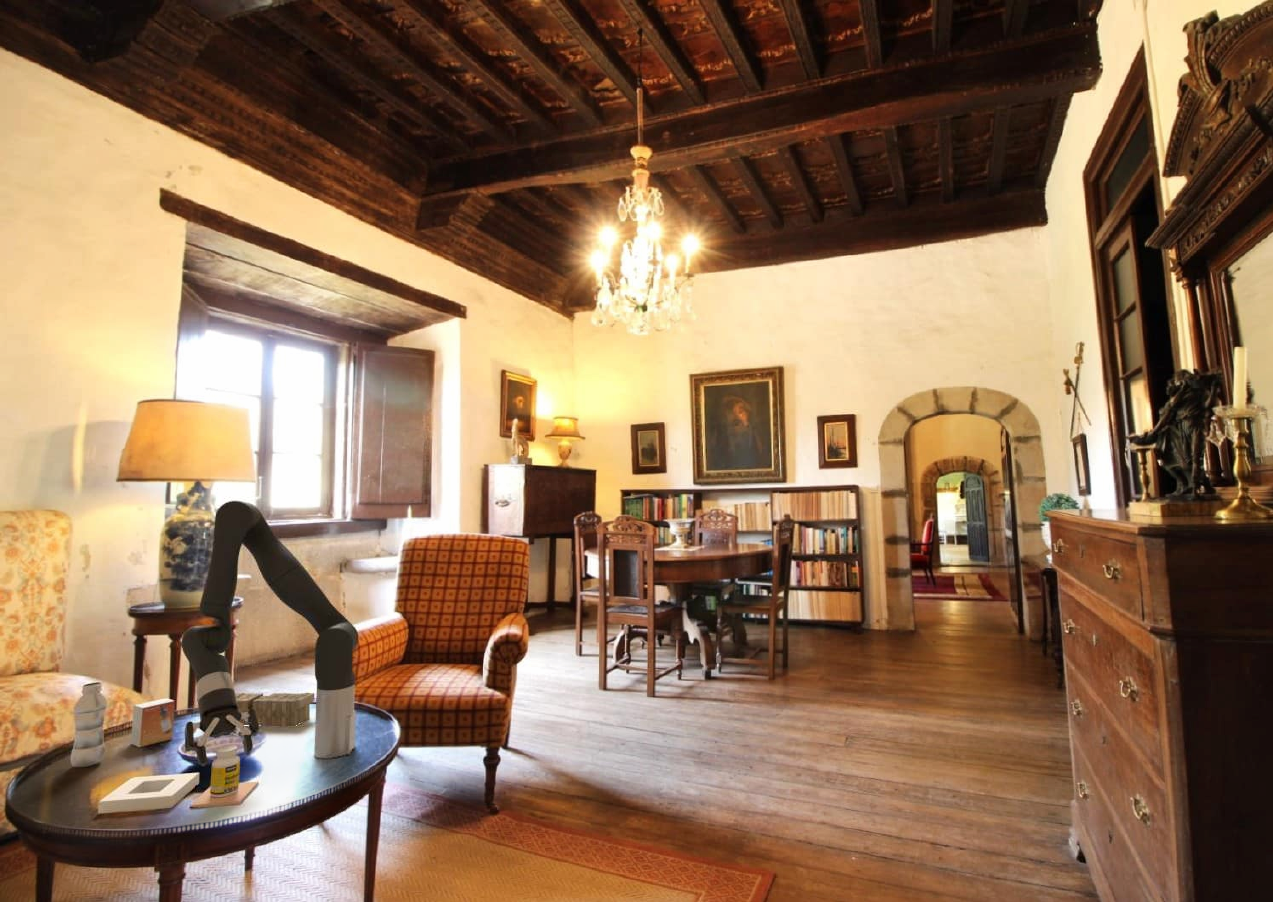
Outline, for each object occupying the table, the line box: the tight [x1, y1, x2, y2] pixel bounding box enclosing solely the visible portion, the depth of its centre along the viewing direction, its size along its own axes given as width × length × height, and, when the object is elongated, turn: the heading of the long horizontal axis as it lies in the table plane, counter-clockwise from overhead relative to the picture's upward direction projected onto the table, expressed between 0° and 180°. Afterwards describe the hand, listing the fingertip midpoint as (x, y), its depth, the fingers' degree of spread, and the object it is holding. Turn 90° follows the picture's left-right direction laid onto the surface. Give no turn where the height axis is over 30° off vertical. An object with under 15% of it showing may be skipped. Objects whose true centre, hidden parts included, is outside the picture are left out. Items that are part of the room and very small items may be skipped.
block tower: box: [235, 692, 315, 727], centre depth 191 cm, size 8×8×29 cm
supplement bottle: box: [209, 744, 241, 797], centre depth 143 cm, size 5×5×10 cm
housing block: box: [97, 772, 200, 815], centre depth 142 cm, size 14×12×2 cm
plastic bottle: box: [69, 681, 108, 768], centre depth 160 cm, size 6×7×20 cm
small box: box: [130, 697, 176, 748], centre depth 176 cm, size 8×6×10 cm
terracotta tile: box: [189, 781, 259, 808], centre depth 143 cm, size 10×10×1 cm
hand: (226, 758), depth 144 cm, fingers open, 8 cm apart
